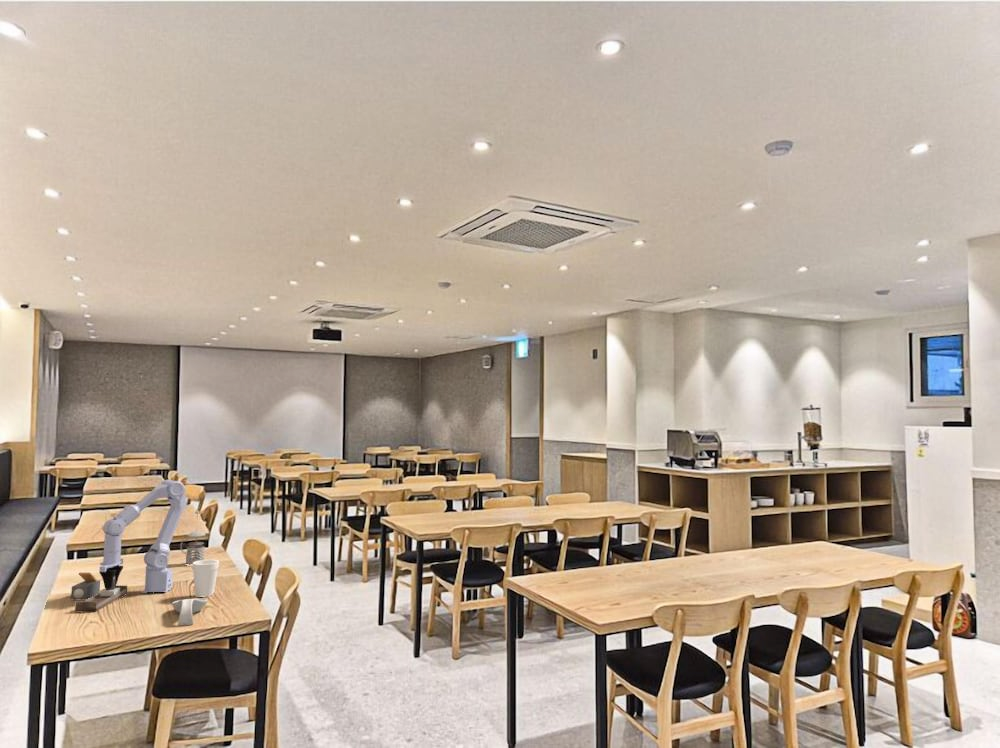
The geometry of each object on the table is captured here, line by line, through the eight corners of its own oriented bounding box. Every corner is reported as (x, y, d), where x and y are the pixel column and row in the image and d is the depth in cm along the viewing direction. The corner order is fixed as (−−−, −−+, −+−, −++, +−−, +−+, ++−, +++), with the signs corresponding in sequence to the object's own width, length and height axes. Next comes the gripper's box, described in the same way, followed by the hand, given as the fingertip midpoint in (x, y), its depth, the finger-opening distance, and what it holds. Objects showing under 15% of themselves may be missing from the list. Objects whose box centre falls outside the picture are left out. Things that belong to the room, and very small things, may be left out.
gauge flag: (96, 581, 265) (96, 579, 265) (89, 574, 259) (89, 572, 260) (85, 581, 264) (86, 579, 265) (78, 574, 259) (78, 572, 259)
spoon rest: (172, 609, 247) (173, 589, 247) (207, 606, 251) (208, 586, 252) (167, 628, 225) (168, 606, 225) (205, 624, 229) (206, 603, 230)
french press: (204, 566, 317) (206, 512, 318) (177, 566, 314) (179, 512, 316) (208, 561, 326) (210, 509, 328) (182, 562, 323) (184, 509, 325)
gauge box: (99, 593, 266) (100, 580, 266) (85, 600, 256) (86, 586, 256) (84, 593, 265) (85, 580, 266) (70, 600, 255) (71, 586, 256)
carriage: (119, 592, 261) (120, 574, 262) (113, 596, 256) (114, 577, 257) (106, 593, 261) (107, 574, 261) (99, 596, 256) (100, 577, 256)
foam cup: (217, 592, 270) (219, 559, 271) (217, 597, 262) (218, 563, 263) (191, 593, 267) (193, 560, 268) (190, 599, 258) (191, 565, 259)
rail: (126, 594, 265) (127, 585, 265) (95, 611, 241) (96, 602, 241) (108, 594, 264) (108, 585, 264) (75, 612, 240) (75, 602, 241)
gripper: (110, 547, 266) (108, 582, 266) (91, 554, 252) (89, 591, 251) (129, 547, 267) (127, 582, 266) (111, 554, 253) (109, 591, 252)
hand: (110, 587), depth 259 cm, fingers closed on carriage, 3 cm apart
